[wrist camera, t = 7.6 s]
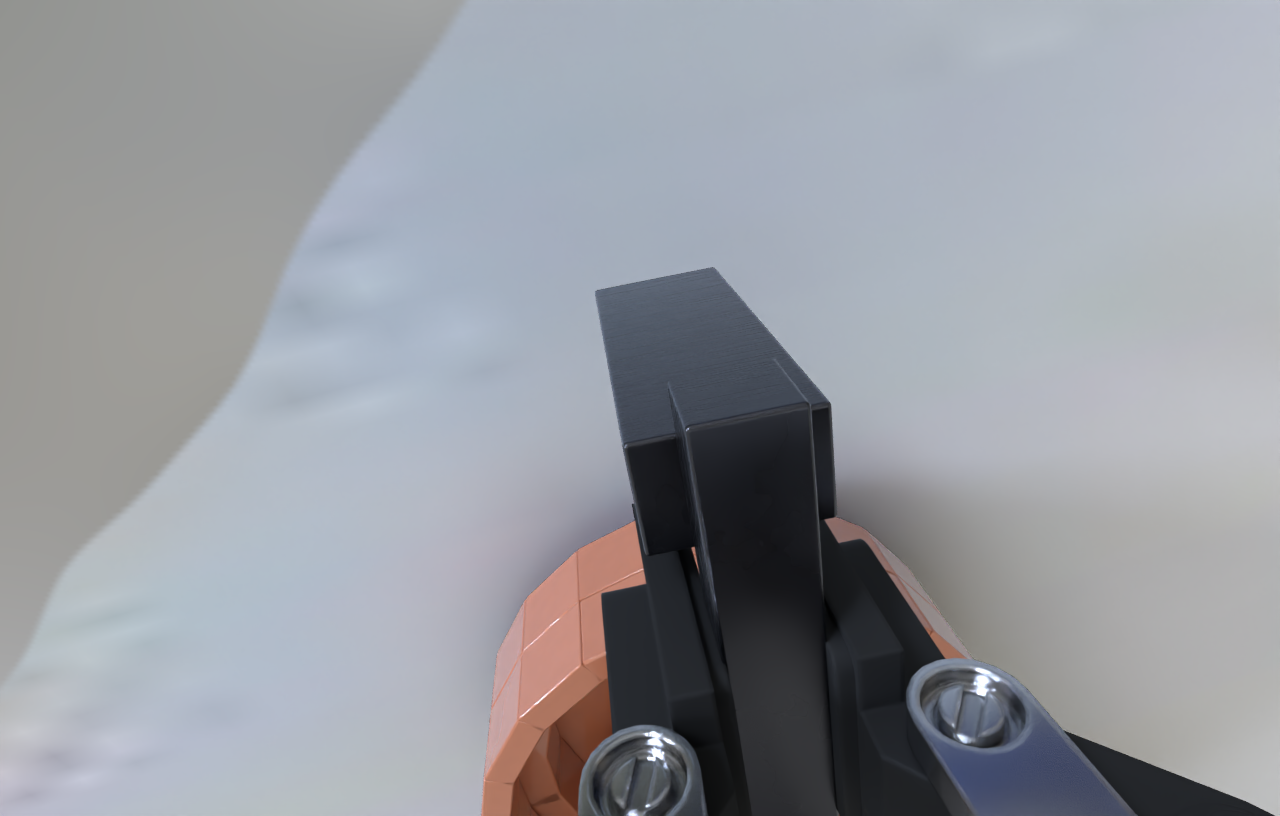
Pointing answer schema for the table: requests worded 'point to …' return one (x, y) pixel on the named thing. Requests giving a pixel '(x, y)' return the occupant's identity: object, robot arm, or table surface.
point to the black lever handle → (736, 508)
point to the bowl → (596, 672)
